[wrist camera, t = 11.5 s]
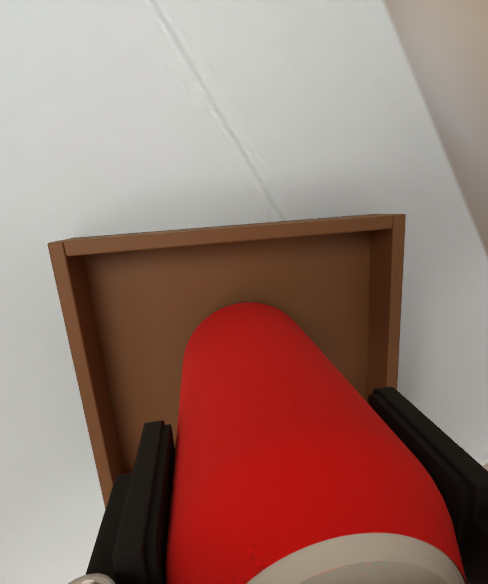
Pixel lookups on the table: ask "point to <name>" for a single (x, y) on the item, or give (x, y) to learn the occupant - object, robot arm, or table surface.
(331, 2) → the table surface
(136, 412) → the tray
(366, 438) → the beverage can
